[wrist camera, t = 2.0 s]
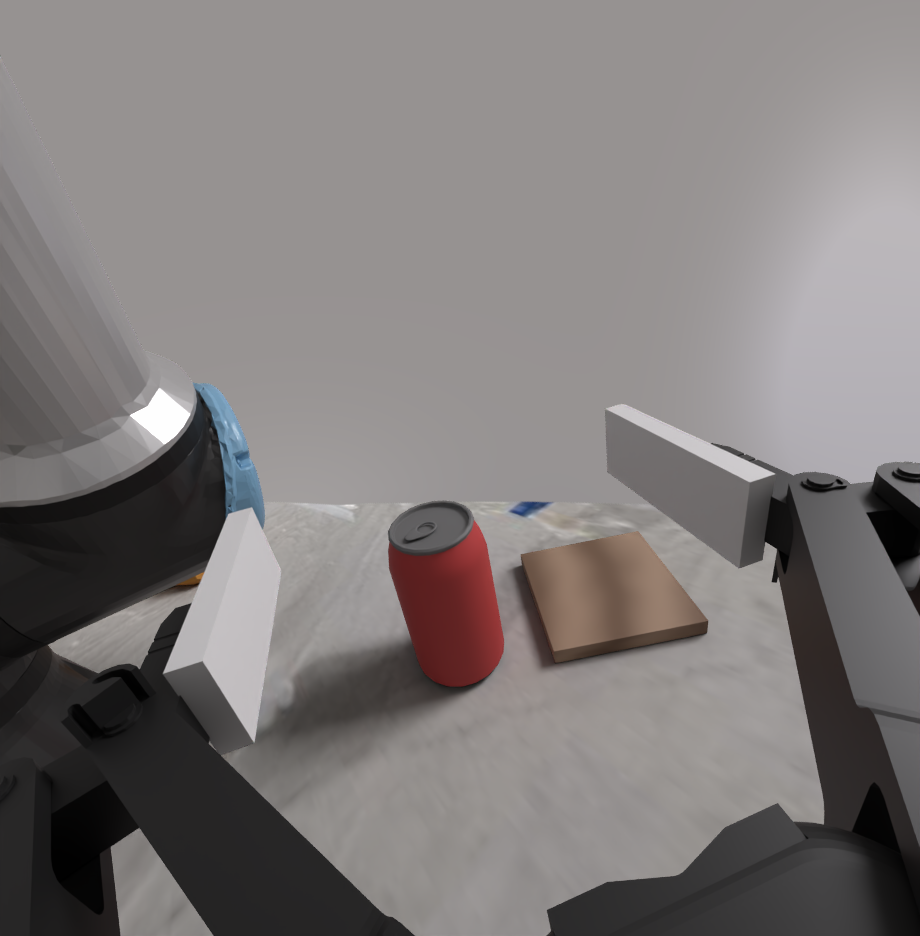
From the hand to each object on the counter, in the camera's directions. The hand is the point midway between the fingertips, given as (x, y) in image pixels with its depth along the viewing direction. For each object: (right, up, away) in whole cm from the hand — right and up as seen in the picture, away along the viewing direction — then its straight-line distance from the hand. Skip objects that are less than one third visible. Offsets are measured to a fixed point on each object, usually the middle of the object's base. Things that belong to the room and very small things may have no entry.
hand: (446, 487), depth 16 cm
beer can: (+1, -13, +18) cm, 22 cm away
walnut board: (+12, -10, +20) cm, 26 cm away
